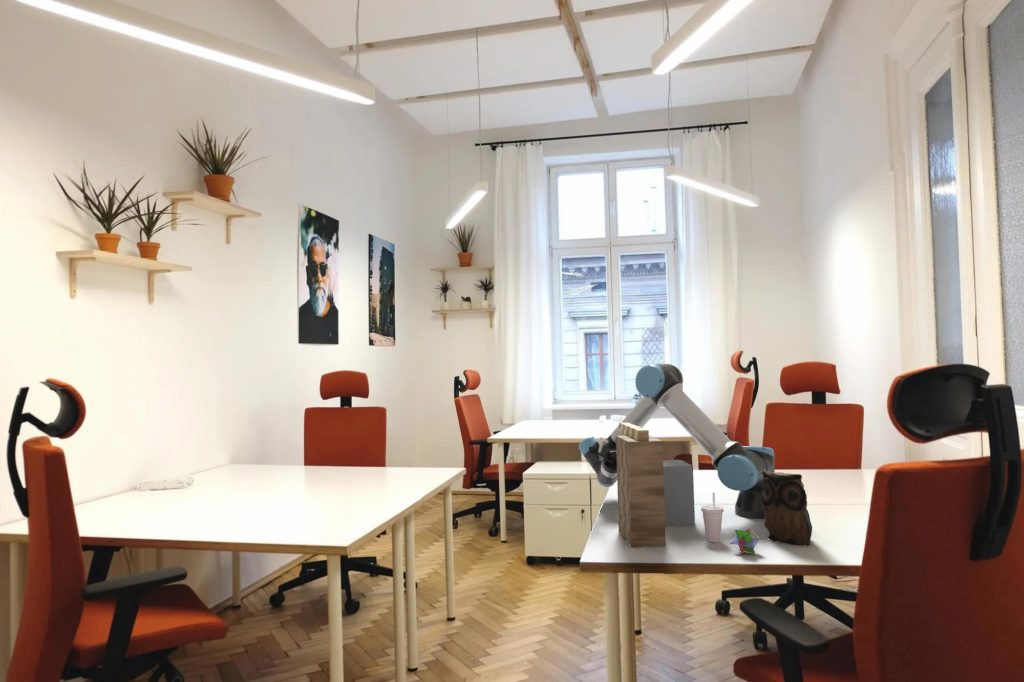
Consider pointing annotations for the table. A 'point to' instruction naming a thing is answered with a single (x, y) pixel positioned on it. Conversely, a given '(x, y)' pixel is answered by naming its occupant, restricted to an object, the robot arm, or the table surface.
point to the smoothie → (712, 521)
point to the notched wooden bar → (634, 431)
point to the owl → (786, 508)
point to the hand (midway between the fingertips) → (621, 440)
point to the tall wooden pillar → (641, 491)
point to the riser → (678, 493)
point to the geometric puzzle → (746, 540)
